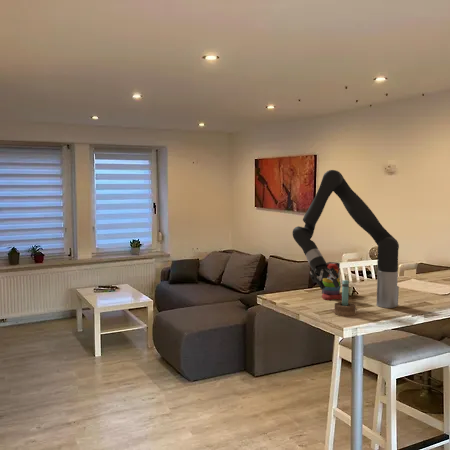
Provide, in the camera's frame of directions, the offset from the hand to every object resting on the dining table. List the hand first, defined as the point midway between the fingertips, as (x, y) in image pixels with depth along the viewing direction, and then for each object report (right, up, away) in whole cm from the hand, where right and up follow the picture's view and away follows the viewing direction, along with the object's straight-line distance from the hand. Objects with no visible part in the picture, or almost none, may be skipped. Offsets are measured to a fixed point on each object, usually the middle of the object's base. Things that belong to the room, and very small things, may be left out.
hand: (330, 287), depth 224 cm
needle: (+5, -11, -8) cm, 14 cm away
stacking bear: (+5, -8, +22) cm, 24 cm away
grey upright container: (+7, -7, +33) cm, 34 cm away
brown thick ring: (+5, -11, -8) cm, 14 cm away
